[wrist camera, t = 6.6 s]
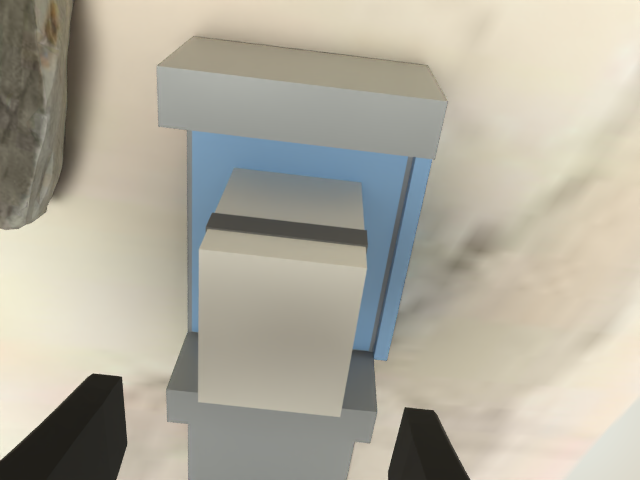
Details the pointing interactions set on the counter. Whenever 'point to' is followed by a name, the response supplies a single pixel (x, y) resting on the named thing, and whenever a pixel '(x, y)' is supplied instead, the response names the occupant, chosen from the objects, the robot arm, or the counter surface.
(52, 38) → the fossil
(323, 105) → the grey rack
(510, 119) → the counter surface
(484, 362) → the counter surface
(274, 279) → the block
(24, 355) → the counter surface
